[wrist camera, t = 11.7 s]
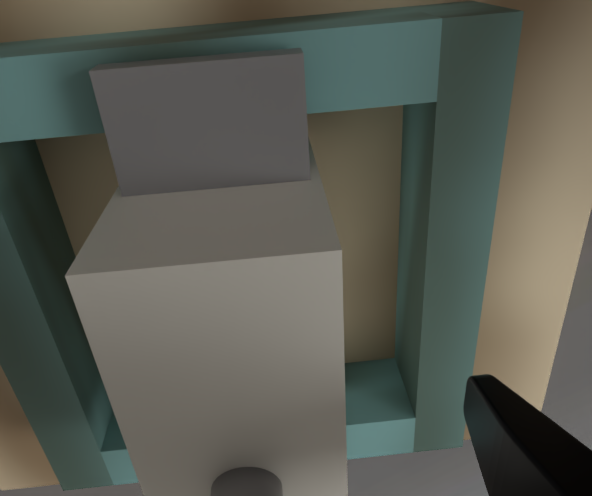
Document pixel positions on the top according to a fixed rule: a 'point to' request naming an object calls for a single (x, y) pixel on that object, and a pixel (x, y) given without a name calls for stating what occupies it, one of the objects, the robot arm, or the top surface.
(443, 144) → the tray
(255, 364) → the block
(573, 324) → the top surface
